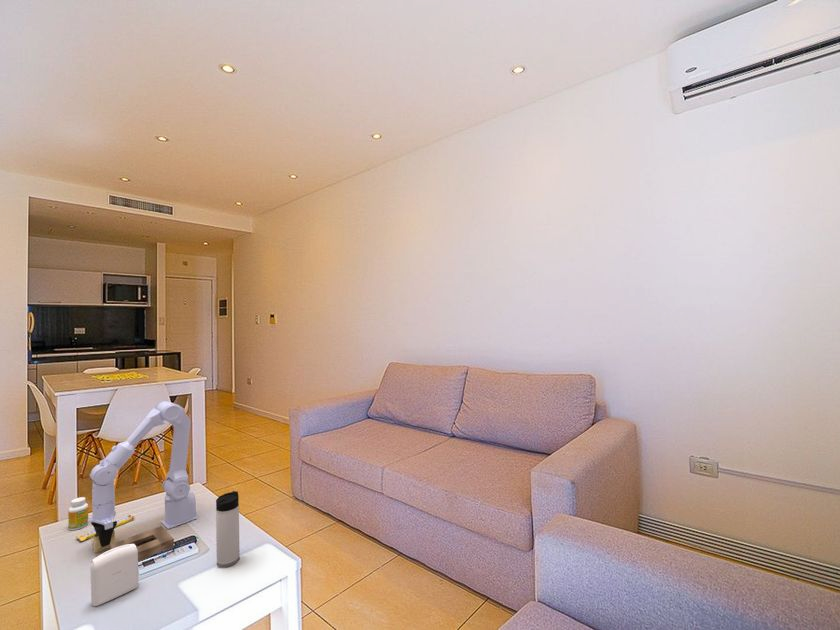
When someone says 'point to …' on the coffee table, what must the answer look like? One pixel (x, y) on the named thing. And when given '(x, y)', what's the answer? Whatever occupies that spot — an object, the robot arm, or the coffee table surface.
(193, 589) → the coffee table surface
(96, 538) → the tan flat rectangular block
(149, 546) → the walnut coin box
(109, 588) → the photo printer
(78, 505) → the supplement bottle
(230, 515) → the travel mug
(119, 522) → the candy bar
